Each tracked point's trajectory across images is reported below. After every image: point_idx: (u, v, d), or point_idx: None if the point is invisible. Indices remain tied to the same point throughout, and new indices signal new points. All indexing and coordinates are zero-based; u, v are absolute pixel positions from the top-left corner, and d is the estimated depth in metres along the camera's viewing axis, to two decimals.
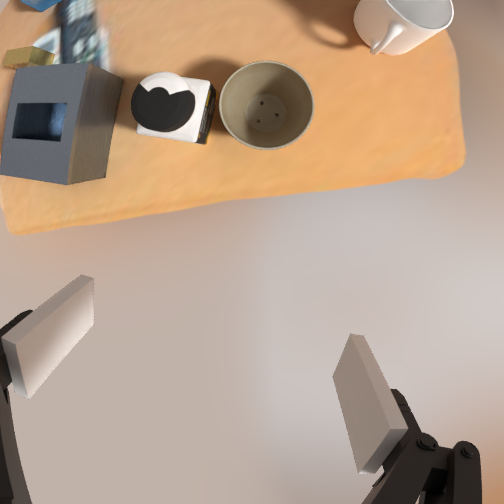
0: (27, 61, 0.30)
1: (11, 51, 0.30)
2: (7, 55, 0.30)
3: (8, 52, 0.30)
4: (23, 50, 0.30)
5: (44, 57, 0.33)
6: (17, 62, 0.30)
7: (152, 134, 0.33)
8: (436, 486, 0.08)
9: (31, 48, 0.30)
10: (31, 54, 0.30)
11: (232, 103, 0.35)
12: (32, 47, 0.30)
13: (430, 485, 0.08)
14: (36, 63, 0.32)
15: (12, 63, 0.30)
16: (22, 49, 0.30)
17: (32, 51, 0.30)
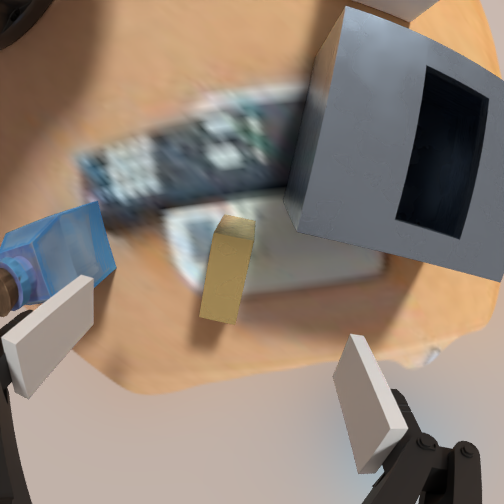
0: (250, 244, 0.20)
1: (206, 302, 0.21)
2: (212, 314, 0.21)
3: (205, 313, 0.21)
4: (216, 262, 0.20)
5: (235, 223, 0.23)
6: (242, 278, 0.21)
7: None
8: (436, 486, 0.08)
9: (218, 236, 0.20)
10: (234, 235, 0.20)
11: None
12: (216, 234, 0.20)
13: (430, 485, 0.08)
14: (252, 233, 0.22)
15: (239, 294, 0.21)
16: (213, 265, 0.20)
17: (226, 234, 0.20)
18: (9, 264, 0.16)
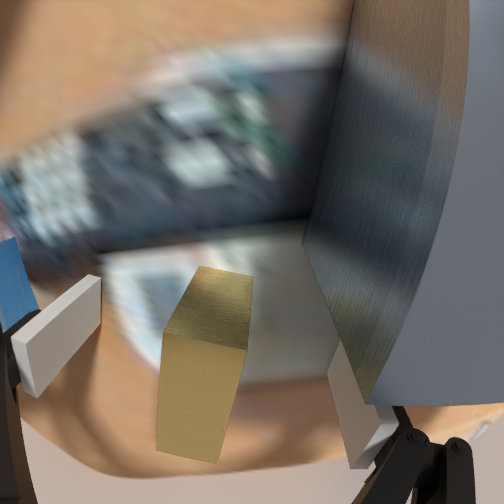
0: (240, 356, 0.09)
1: (164, 435, 0.10)
2: (177, 449, 0.11)
3: (166, 447, 0.11)
4: (173, 383, 0.10)
5: (214, 292, 0.12)
6: (226, 408, 0.10)
7: None
8: (428, 482, 0.08)
9: (173, 338, 0.09)
10: (206, 337, 0.09)
11: None
12: (170, 335, 0.09)
13: (422, 481, 0.08)
14: (244, 318, 0.11)
15: (222, 429, 0.10)
16: (170, 386, 0.10)
17: (191, 334, 0.09)
18: None
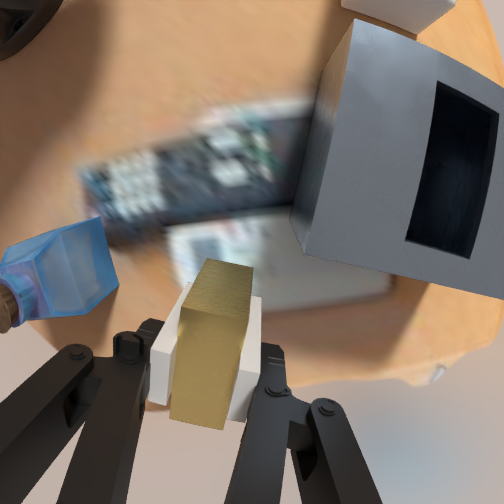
0: (243, 326, 0.12)
1: (177, 402, 0.13)
2: (188, 416, 0.13)
3: (178, 415, 0.13)
4: (188, 351, 0.12)
5: (221, 278, 0.15)
6: (231, 373, 0.12)
7: None
8: (297, 443, 0.10)
9: (188, 312, 0.11)
10: (216, 311, 0.12)
11: None
12: (186, 309, 0.12)
13: (289, 441, 0.10)
14: (246, 298, 0.13)
15: (227, 394, 0.13)
16: (184, 355, 0.12)
17: (203, 309, 0.12)
18: (9, 281, 0.16)
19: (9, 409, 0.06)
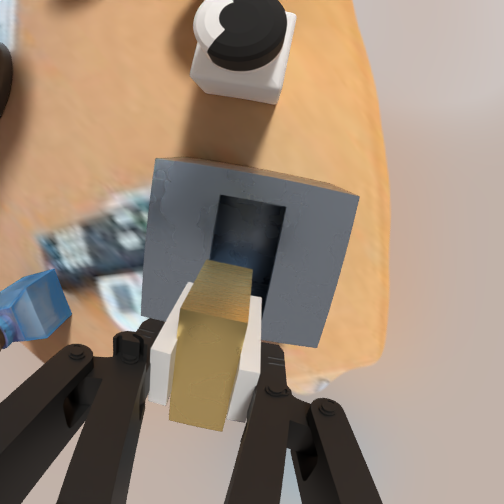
0: (243, 328, 0.12)
1: (177, 404, 0.13)
2: (188, 417, 0.13)
3: (178, 416, 0.13)
4: (187, 353, 0.12)
5: (220, 280, 0.15)
6: (231, 375, 0.12)
7: (283, 66, 0.21)
8: (297, 443, 0.10)
9: (188, 313, 0.11)
10: (215, 313, 0.12)
11: None
12: (185, 311, 0.12)
13: (289, 441, 0.10)
14: (246, 300, 0.13)
15: (227, 396, 0.13)
16: (183, 356, 0.12)
17: (202, 310, 0.12)
18: None
19: (9, 409, 0.06)
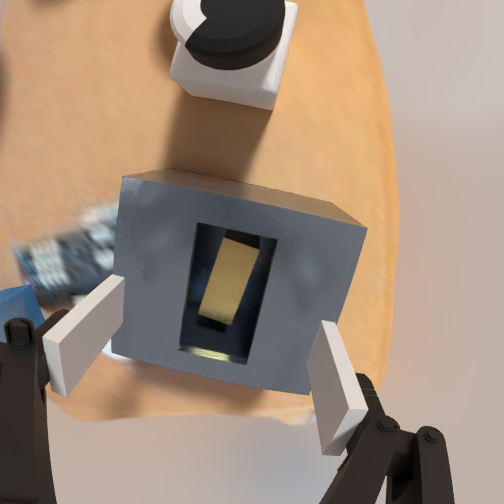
0: (256, 253, 0.22)
1: (206, 301, 0.23)
2: (211, 312, 0.23)
3: (204, 311, 0.23)
4: (221, 265, 0.22)
5: None
6: (244, 282, 0.22)
7: (281, 64, 0.18)
8: (400, 471, 0.09)
9: (227, 241, 0.21)
10: (242, 242, 0.22)
11: None
12: (226, 239, 0.21)
13: (393, 470, 0.09)
14: (257, 242, 0.23)
15: (239, 297, 0.22)
16: (219, 267, 0.22)
17: (235, 240, 0.22)
18: None
19: None
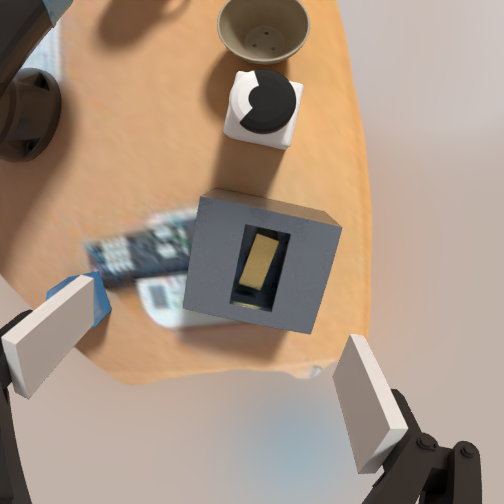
0: (276, 243, 0.35)
1: (245, 274, 0.36)
2: (247, 281, 0.36)
3: (243, 281, 0.36)
4: (255, 251, 0.35)
5: (266, 230, 0.38)
6: (269, 262, 0.36)
7: (292, 128, 0.31)
8: (436, 486, 0.08)
9: (259, 236, 0.35)
10: (268, 237, 0.35)
11: None
12: (258, 235, 0.35)
13: (430, 485, 0.08)
14: (277, 237, 0.37)
15: (265, 271, 0.36)
16: (253, 252, 0.35)
17: (264, 235, 0.35)
18: None
19: None
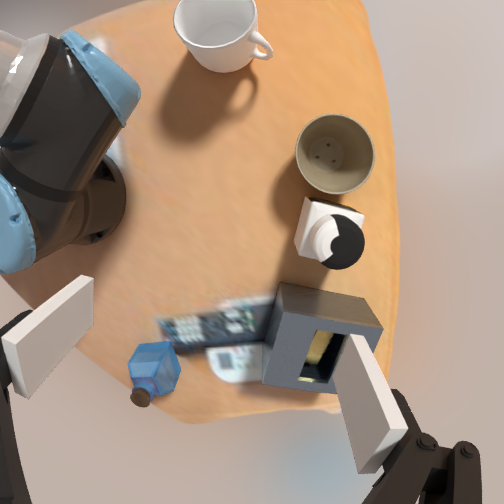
0: (332, 334, 0.44)
1: None
2: (308, 359, 0.46)
3: None
4: (316, 339, 0.45)
5: None
6: (325, 346, 0.45)
7: None
8: (436, 486, 0.08)
9: None
10: None
11: (324, 183, 0.42)
12: None
13: (430, 485, 0.08)
14: None
15: (322, 352, 0.45)
16: (315, 340, 0.45)
17: None
18: (146, 387, 0.44)
19: None
